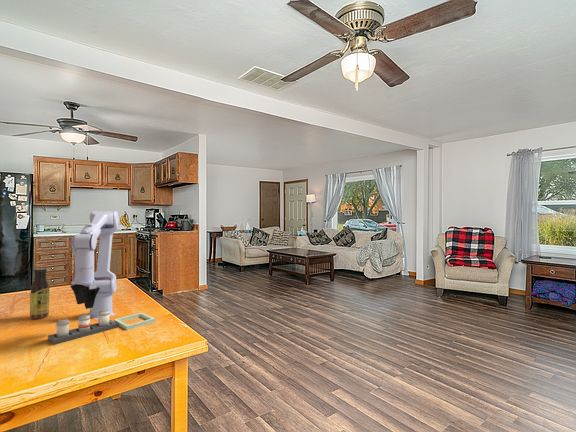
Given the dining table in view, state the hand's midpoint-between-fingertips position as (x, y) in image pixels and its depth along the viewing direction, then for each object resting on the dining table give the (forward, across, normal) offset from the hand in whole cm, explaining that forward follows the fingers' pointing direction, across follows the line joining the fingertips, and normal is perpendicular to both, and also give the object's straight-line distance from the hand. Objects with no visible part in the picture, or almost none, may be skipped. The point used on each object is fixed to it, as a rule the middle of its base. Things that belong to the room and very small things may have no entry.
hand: (85, 305), depth 114 cm
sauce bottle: (+11, -34, -5) cm, 36 cm away
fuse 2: (+10, 0, +6) cm, 12 cm away
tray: (+10, +3, +16) cm, 19 cm away
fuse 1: (+10, 0, -7) cm, 12 cm away
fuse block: (+10, 0, 0) cm, 10 cm away
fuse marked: (+10, 0, 0) cm, 10 cm away
